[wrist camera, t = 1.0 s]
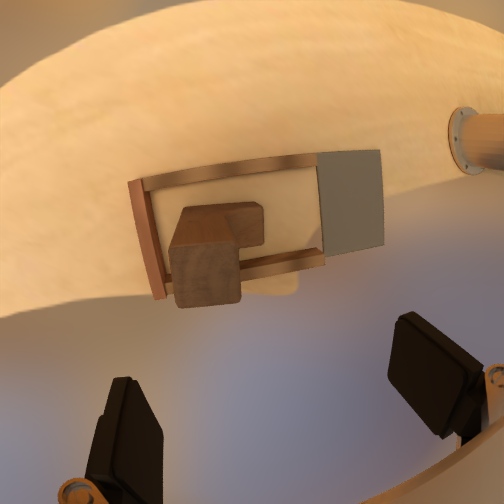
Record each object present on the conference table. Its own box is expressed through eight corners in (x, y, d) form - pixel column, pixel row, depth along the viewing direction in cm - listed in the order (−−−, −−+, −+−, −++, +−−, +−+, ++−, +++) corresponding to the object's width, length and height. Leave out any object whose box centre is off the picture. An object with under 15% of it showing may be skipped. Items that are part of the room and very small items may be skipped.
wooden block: (256, 201, 36) (307, 234, 19) (257, 236, 37) (306, 296, 20) (182, 206, 35) (166, 246, 18) (186, 242, 36) (176, 311, 19)
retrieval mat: (378, 149, 37) (380, 149, 36) (382, 244, 41) (384, 245, 41) (314, 153, 36) (315, 153, 35) (323, 256, 40) (324, 257, 39)
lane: (307, 153, 35) (319, 152, 32) (316, 257, 40) (328, 267, 36) (135, 179, 33) (127, 181, 29) (158, 287, 37) (154, 300, 33)
